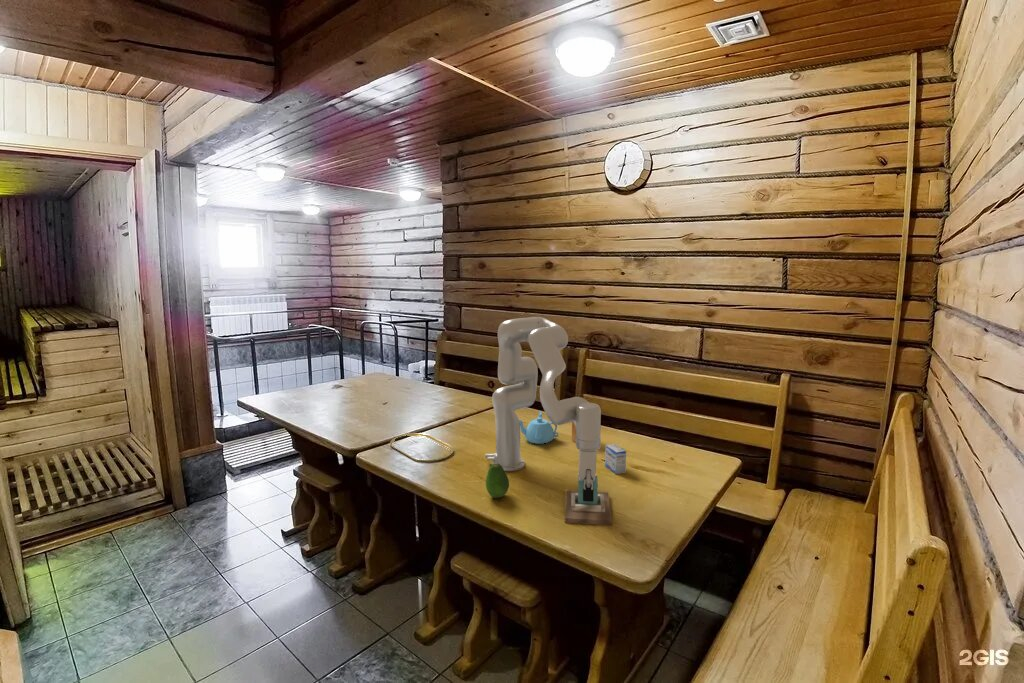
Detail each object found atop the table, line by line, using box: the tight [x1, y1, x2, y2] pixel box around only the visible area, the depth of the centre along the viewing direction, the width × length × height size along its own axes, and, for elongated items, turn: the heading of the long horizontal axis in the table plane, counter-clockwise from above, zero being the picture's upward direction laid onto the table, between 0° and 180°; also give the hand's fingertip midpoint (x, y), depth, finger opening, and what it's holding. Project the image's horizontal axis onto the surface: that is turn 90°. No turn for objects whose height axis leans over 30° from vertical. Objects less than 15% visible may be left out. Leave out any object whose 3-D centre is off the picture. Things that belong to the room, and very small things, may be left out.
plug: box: [577, 474, 599, 505], centre depth 154 cm, size 6×4×9 cm, turn 82°
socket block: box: [564, 490, 613, 526], centre depth 154 cm, size 14×18×3 cm
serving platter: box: [389, 432, 455, 463], centre depth 208 cm, size 19×35×2 cm, turn 41°
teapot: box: [519, 411, 559, 445], centre depth 214 cm, size 15×15×10 cm
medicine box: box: [604, 443, 627, 475], centre depth 183 cm, size 8×4×9 cm, turn 21°
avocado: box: [485, 463, 510, 499], centre depth 163 cm, size 8×8×12 cm
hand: (587, 493), depth 154 cm, fingers open, 9 cm apart
